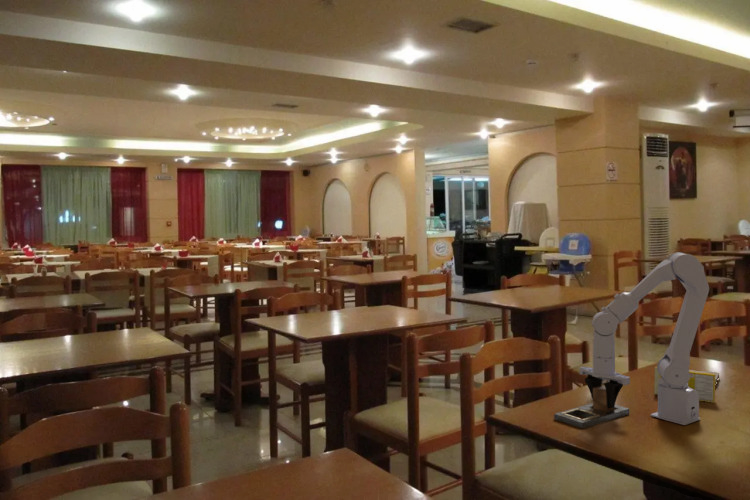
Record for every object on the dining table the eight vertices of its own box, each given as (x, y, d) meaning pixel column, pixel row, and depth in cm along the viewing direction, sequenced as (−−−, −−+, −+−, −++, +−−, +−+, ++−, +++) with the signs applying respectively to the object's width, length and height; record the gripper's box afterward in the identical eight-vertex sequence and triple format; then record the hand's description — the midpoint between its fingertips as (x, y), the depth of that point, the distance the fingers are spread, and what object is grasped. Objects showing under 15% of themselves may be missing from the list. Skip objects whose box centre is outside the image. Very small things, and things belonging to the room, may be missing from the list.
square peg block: (614, 413, 166) (614, 388, 166) (605, 416, 164) (605, 391, 164) (601, 410, 170) (601, 385, 169) (592, 412, 167) (592, 387, 167)
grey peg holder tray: (629, 413, 166) (629, 407, 166) (582, 428, 155) (582, 422, 155) (600, 405, 173) (600, 400, 173) (554, 419, 162) (554, 413, 162)
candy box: (715, 402, 176) (716, 373, 176) (714, 403, 174) (714, 375, 174) (655, 392, 186) (656, 366, 186) (653, 394, 184) (654, 367, 184)
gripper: (572, 353, 170) (572, 401, 171) (618, 363, 158) (618, 414, 158) (588, 350, 174) (588, 397, 174) (634, 359, 162) (634, 409, 162)
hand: (603, 405), depth 167 cm, fingers closed on square peg block, 4 cm apart
